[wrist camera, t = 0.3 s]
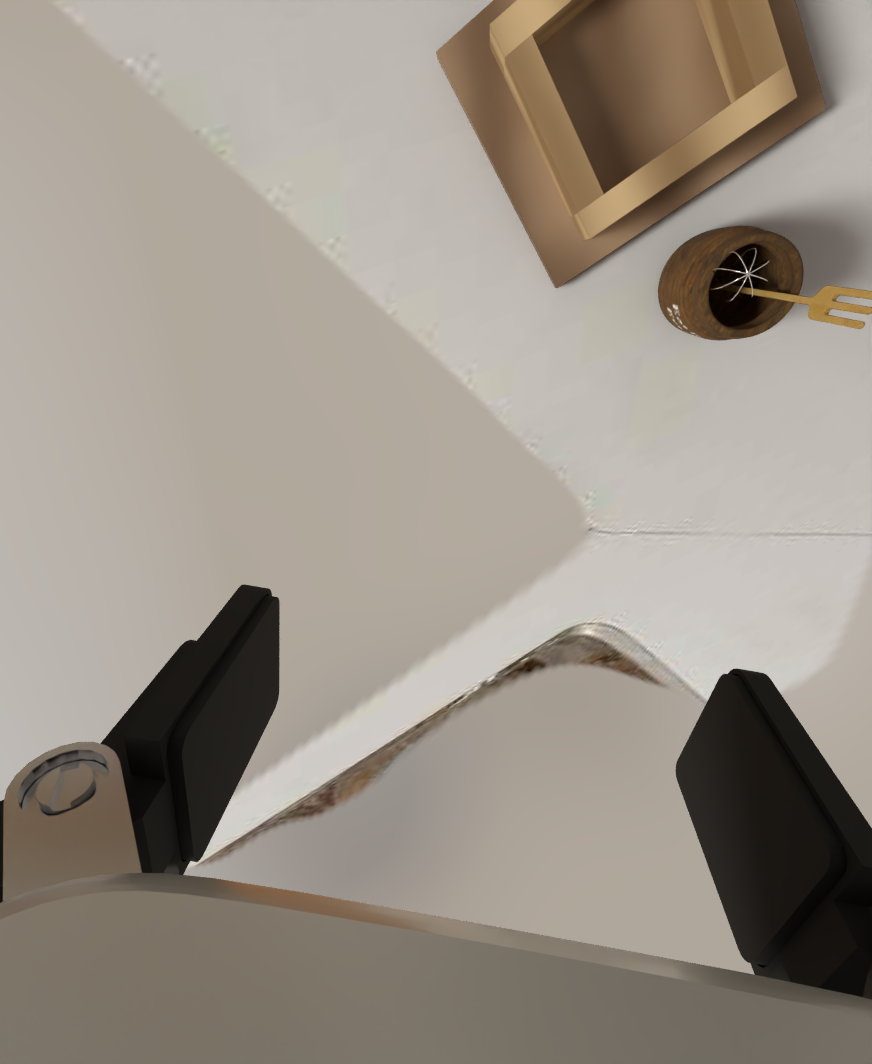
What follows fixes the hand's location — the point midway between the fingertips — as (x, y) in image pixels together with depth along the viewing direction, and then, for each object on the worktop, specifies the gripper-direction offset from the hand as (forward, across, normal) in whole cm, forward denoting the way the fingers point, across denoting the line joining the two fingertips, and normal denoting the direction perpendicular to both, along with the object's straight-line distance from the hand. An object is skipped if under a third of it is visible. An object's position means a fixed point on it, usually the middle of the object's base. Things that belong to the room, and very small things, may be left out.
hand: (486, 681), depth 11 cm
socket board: (+30, -4, -18) cm, 35 cm away
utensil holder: (+30, -12, -9) cm, 34 cm away
